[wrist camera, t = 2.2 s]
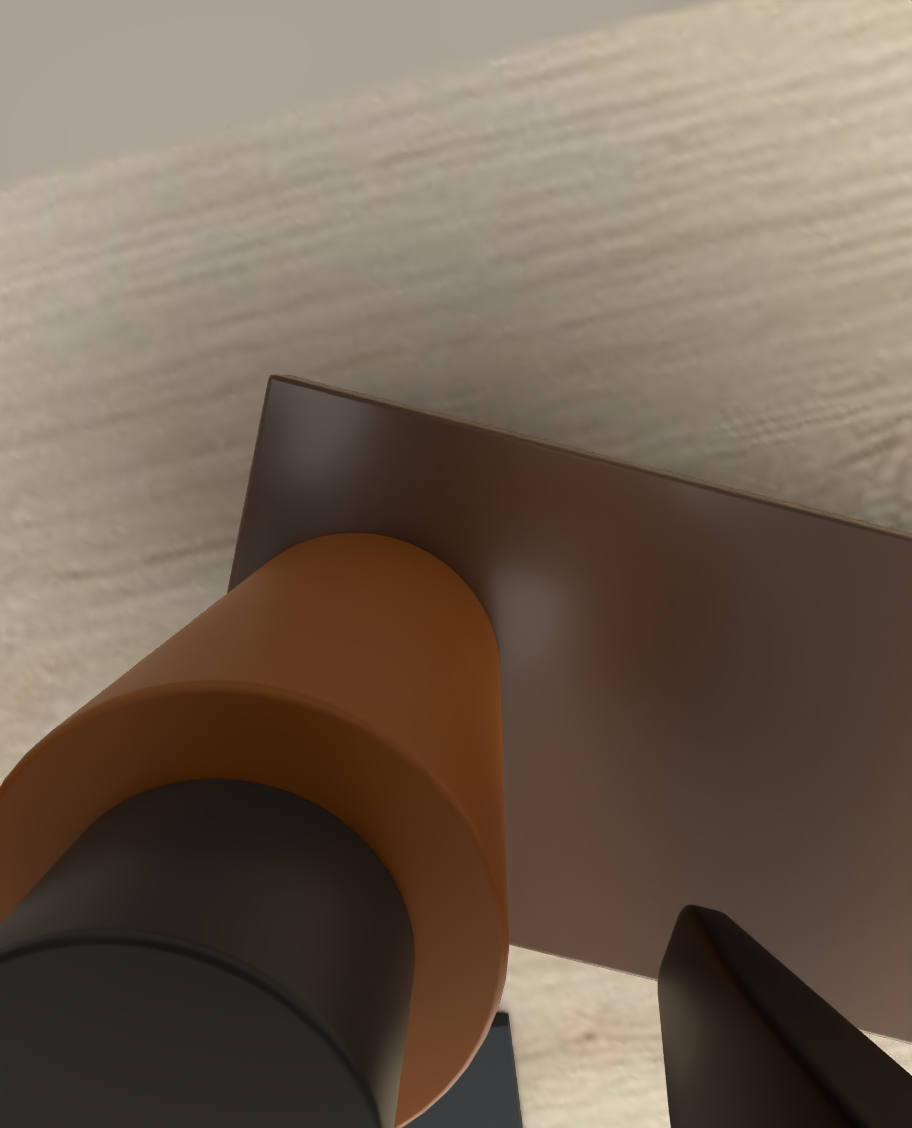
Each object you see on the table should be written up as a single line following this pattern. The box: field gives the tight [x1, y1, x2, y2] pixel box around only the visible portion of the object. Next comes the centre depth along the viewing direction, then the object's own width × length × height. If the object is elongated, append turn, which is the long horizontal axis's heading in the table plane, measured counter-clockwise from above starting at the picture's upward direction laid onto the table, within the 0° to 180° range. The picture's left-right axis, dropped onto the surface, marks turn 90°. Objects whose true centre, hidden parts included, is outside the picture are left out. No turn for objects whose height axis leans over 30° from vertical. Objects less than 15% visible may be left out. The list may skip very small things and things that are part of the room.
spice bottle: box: [0, 533, 509, 1128], centre depth 9 cm, size 5×5×9 cm
